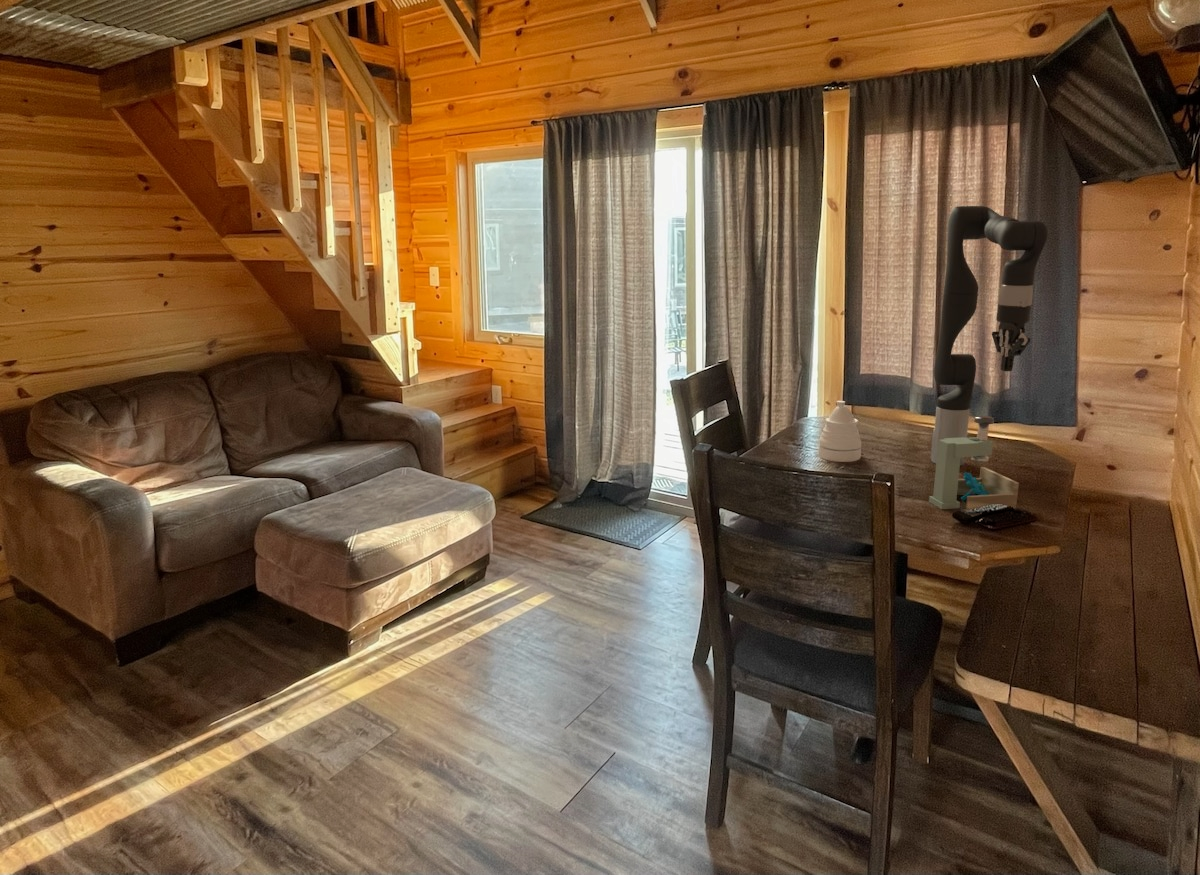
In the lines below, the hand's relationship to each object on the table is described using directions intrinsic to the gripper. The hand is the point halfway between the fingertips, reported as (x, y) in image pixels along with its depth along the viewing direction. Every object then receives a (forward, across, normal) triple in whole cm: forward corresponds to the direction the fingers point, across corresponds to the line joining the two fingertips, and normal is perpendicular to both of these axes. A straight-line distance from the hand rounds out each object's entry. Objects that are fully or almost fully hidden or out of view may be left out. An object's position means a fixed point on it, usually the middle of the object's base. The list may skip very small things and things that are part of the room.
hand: (1006, 370), depth 207 cm
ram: (+22, +6, -9) cm, 24 cm away
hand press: (+33, +7, -13) cm, 36 cm away
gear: (+34, +6, -8) cm, 35 cm away
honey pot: (+35, -42, -24) cm, 60 cm away
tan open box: (+33, +6, -9) cm, 35 cm away
